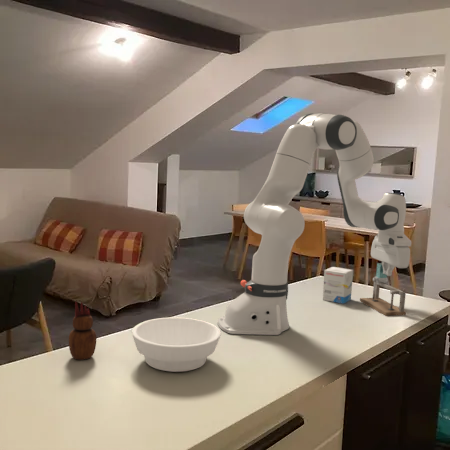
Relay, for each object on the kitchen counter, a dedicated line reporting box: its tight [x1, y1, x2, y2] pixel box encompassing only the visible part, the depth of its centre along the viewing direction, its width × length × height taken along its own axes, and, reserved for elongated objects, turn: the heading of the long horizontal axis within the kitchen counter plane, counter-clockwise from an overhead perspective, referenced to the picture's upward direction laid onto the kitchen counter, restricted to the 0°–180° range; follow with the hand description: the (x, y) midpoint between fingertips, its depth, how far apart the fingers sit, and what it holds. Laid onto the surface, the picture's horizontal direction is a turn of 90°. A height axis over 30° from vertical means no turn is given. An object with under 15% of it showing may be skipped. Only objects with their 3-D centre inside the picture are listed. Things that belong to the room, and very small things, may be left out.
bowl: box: [131, 316, 222, 373], centre depth 137 cm, size 22×22×8 cm
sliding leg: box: [372, 262, 389, 299], centre depth 201 cm, size 5×3×13 cm, turn 105°
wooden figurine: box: [68, 301, 97, 361], centre depth 137 cm, size 7×6×15 cm
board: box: [359, 281, 407, 317], centre depth 196 cm, size 8×18×8 cm, turn 15°
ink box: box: [322, 266, 354, 305], centre depth 204 cm, size 9×8×12 cm
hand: (387, 275), depth 197 cm, fingers closed
